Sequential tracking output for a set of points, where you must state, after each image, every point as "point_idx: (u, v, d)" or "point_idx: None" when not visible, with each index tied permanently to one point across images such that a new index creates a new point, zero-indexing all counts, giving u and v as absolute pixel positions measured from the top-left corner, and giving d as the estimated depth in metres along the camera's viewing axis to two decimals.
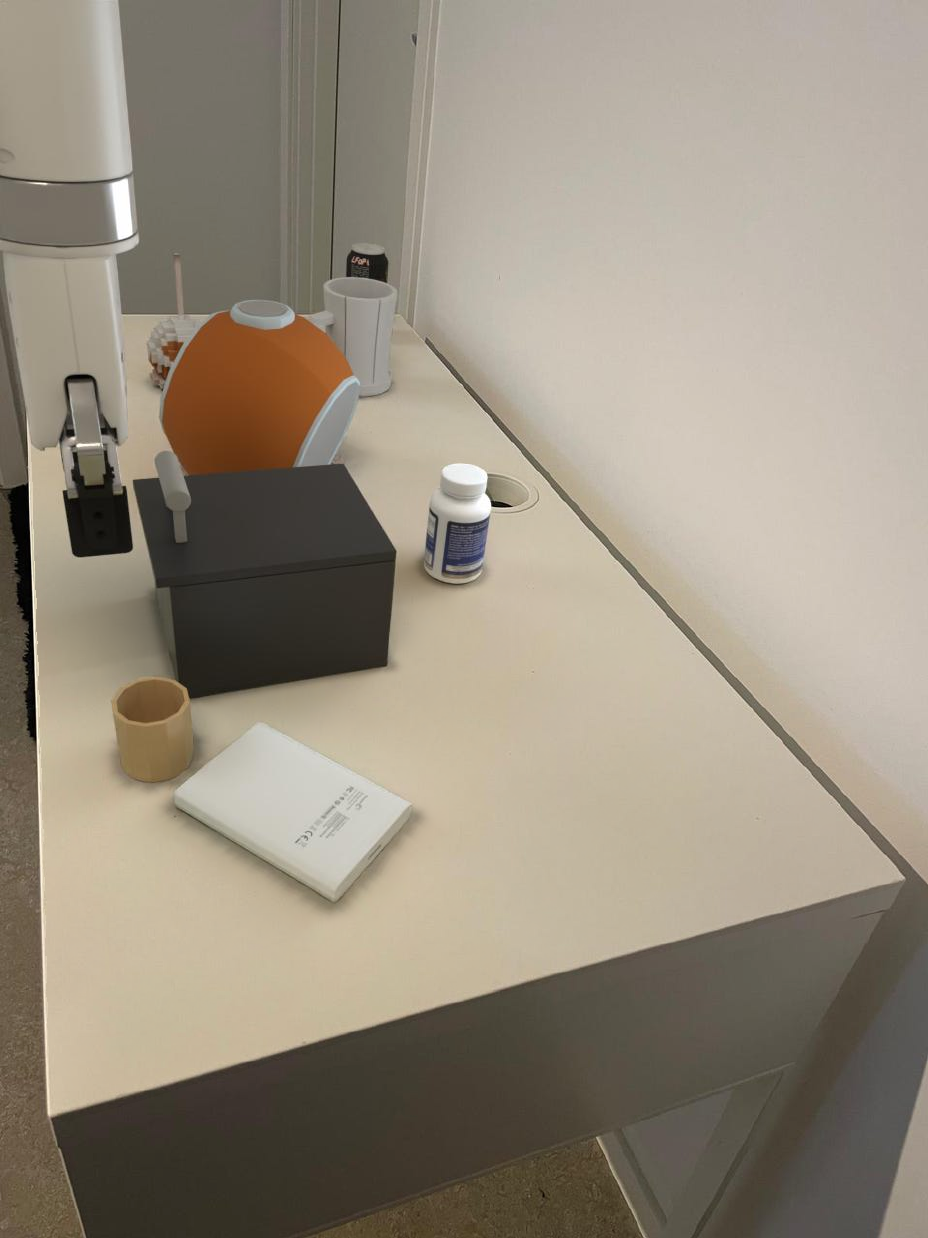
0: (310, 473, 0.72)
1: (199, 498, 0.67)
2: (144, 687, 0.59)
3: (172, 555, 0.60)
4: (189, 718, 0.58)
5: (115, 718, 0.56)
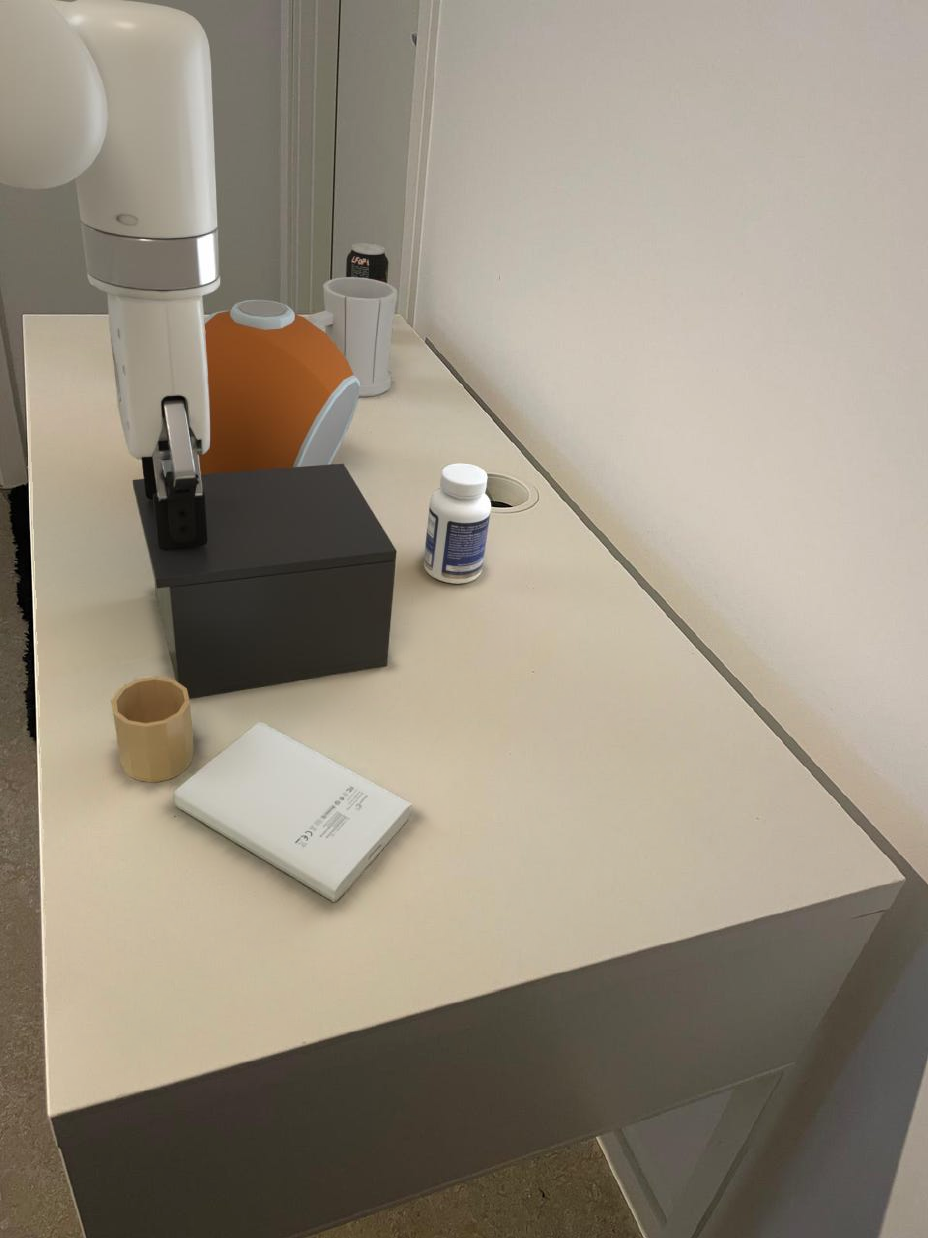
0: (310, 473, 0.72)
1: None
2: (144, 687, 0.59)
3: (172, 555, 0.60)
4: (189, 718, 0.58)
5: (115, 718, 0.56)
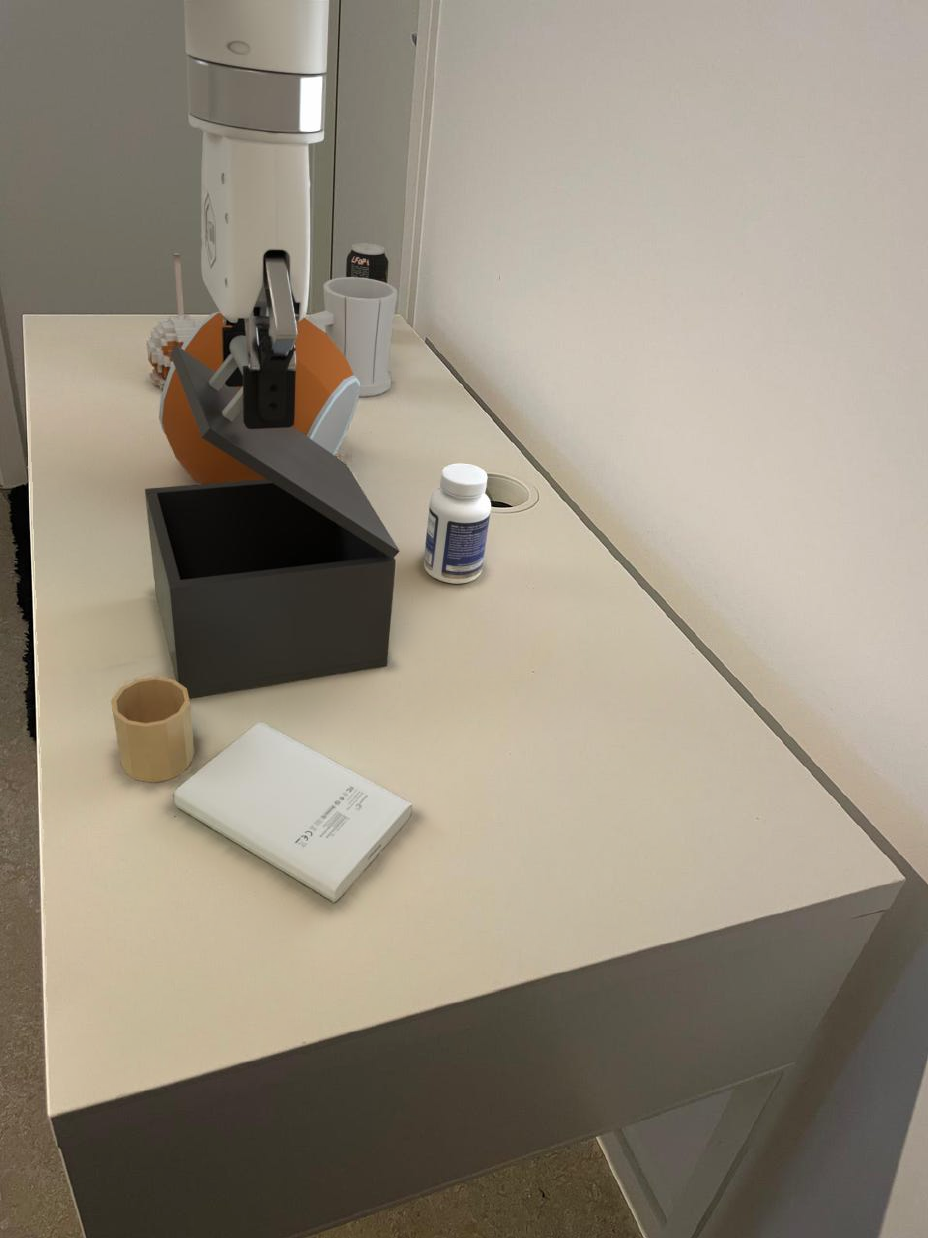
0: (322, 451, 0.71)
1: None
2: (144, 687, 0.59)
3: (221, 422, 0.56)
4: (189, 718, 0.58)
5: (115, 718, 0.56)
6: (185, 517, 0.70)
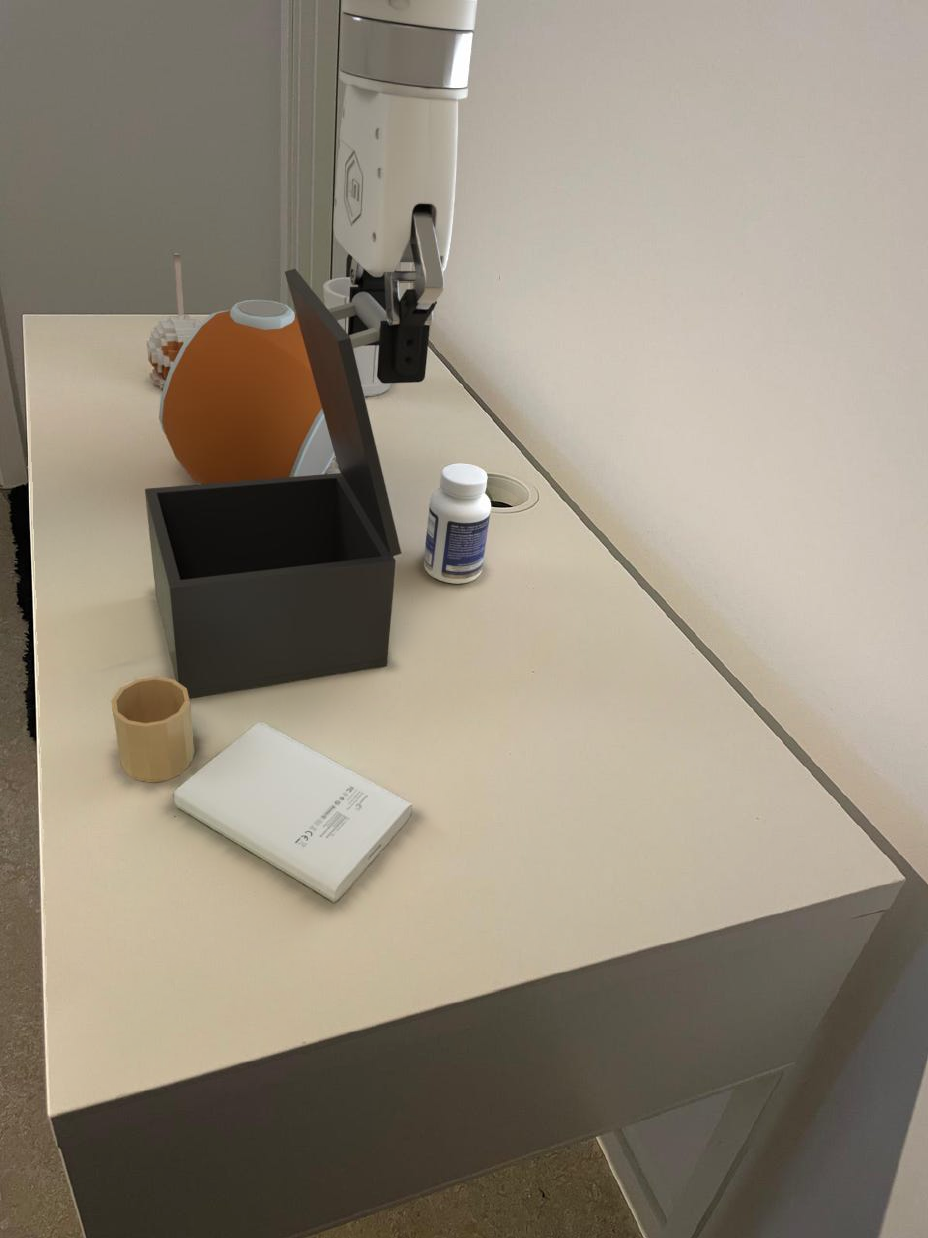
0: None
1: None
2: (144, 687, 0.59)
3: None
4: (189, 718, 0.58)
5: (115, 718, 0.56)
6: (185, 517, 0.70)
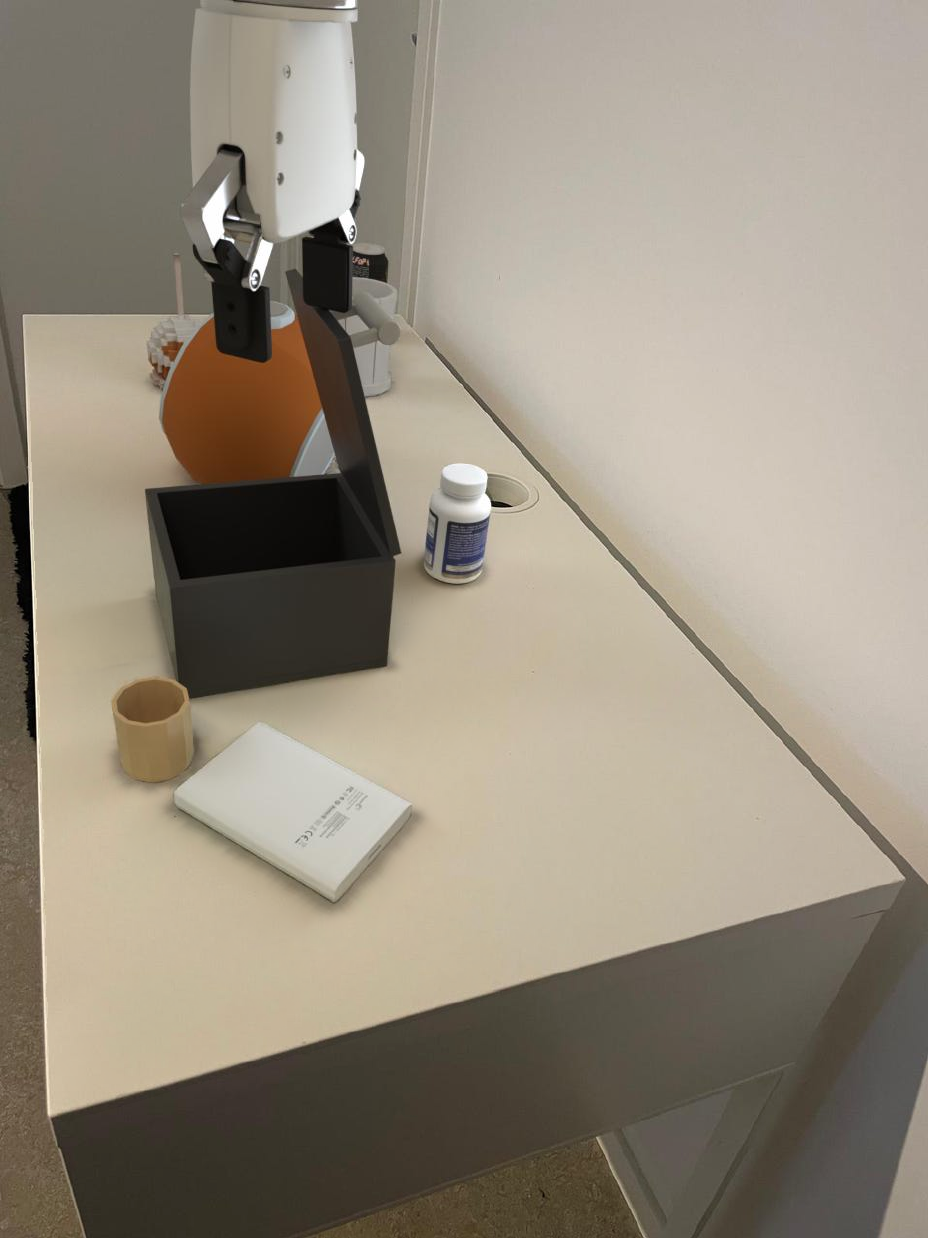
0: None
1: None
2: (144, 687, 0.59)
3: None
4: (189, 718, 0.58)
5: (115, 718, 0.56)
6: (185, 517, 0.70)
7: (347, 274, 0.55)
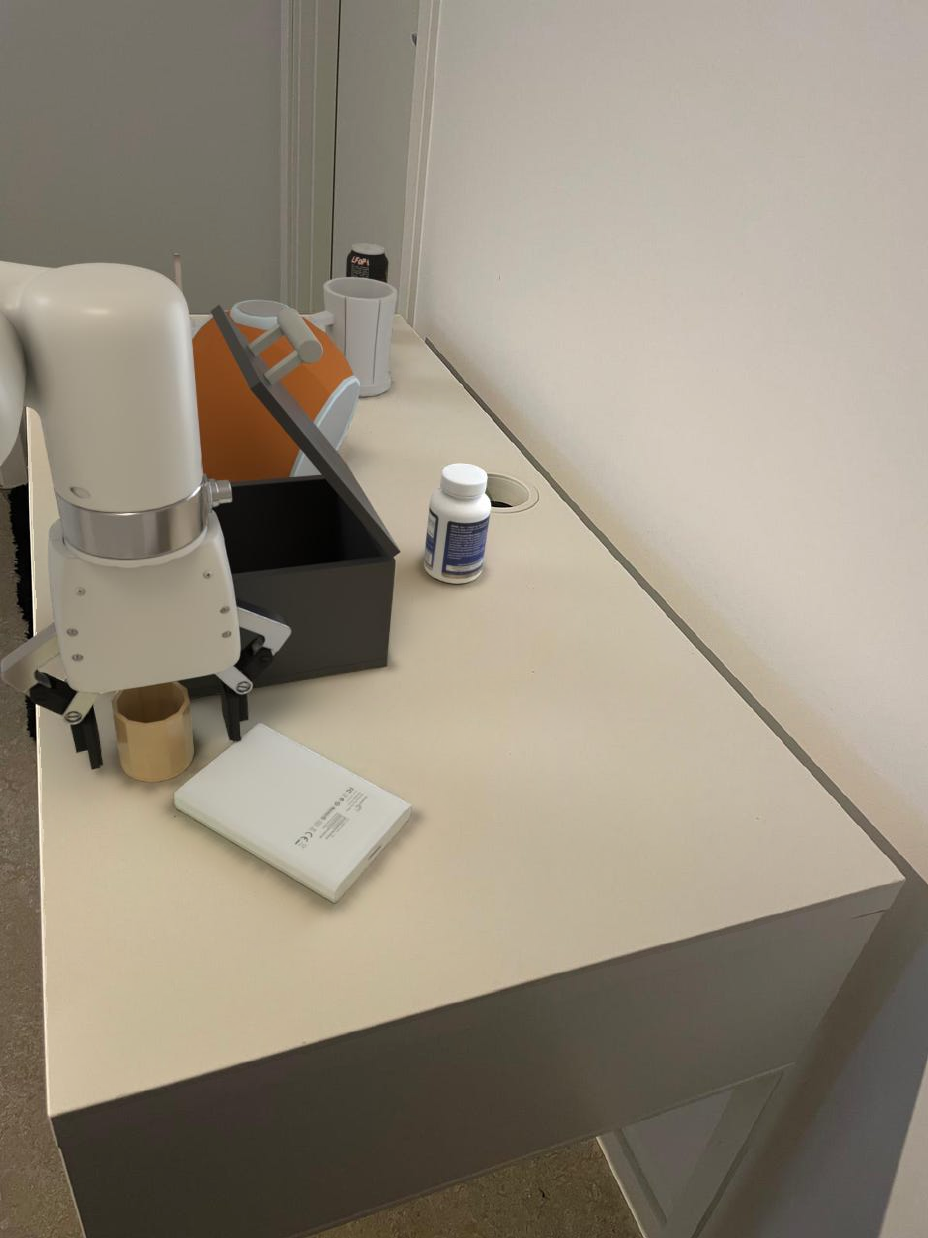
0: (330, 445, 0.71)
1: None
2: (144, 687, 0.59)
3: (265, 381, 0.56)
4: (189, 718, 0.58)
5: (115, 718, 0.56)
6: None
7: (231, 716, 0.58)
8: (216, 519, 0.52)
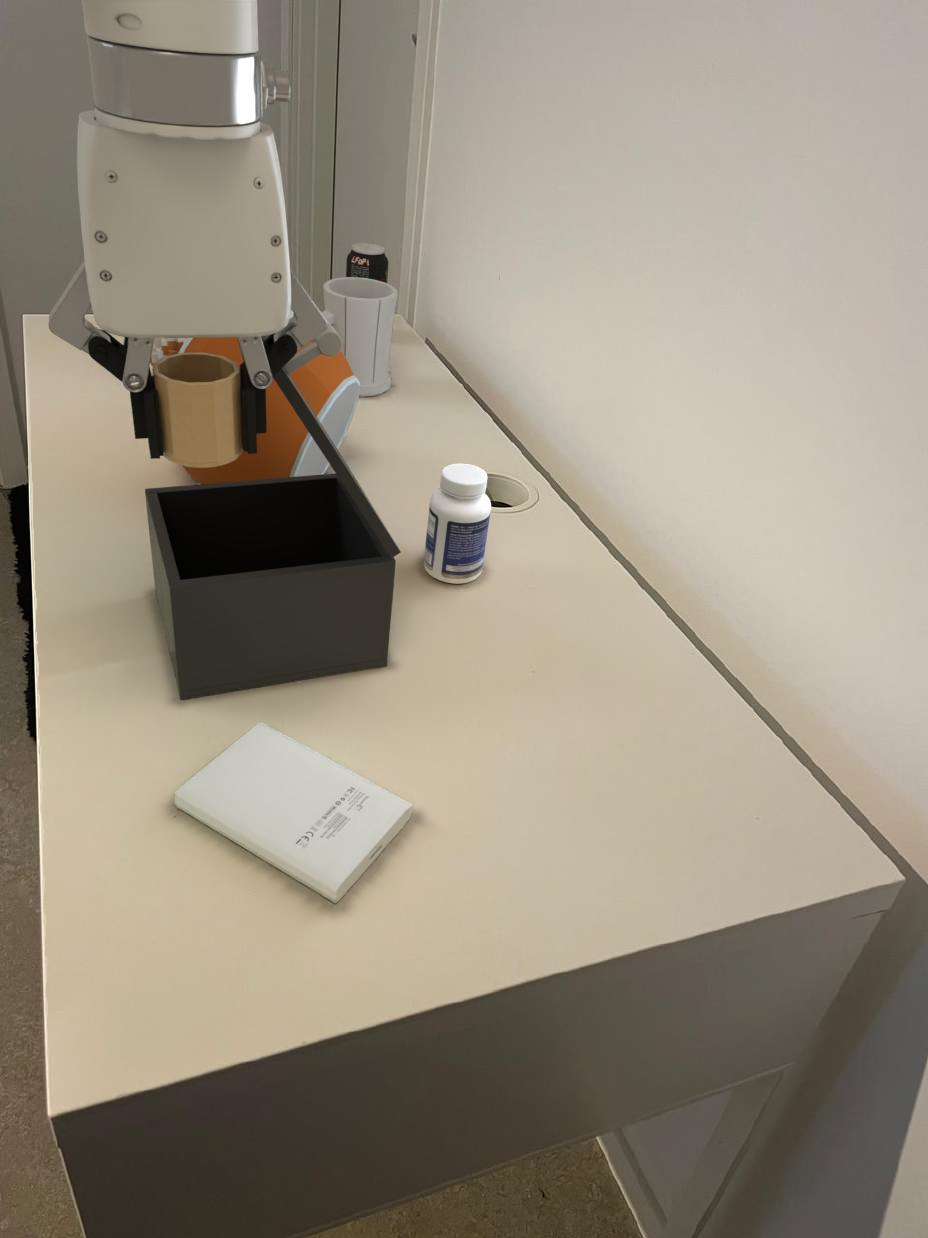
0: (333, 444, 0.71)
1: None
2: (189, 363, 0.52)
3: None
4: (239, 394, 0.51)
5: (156, 379, 0.49)
6: (185, 517, 0.70)
7: (247, 417, 0.51)
8: (270, 128, 0.45)
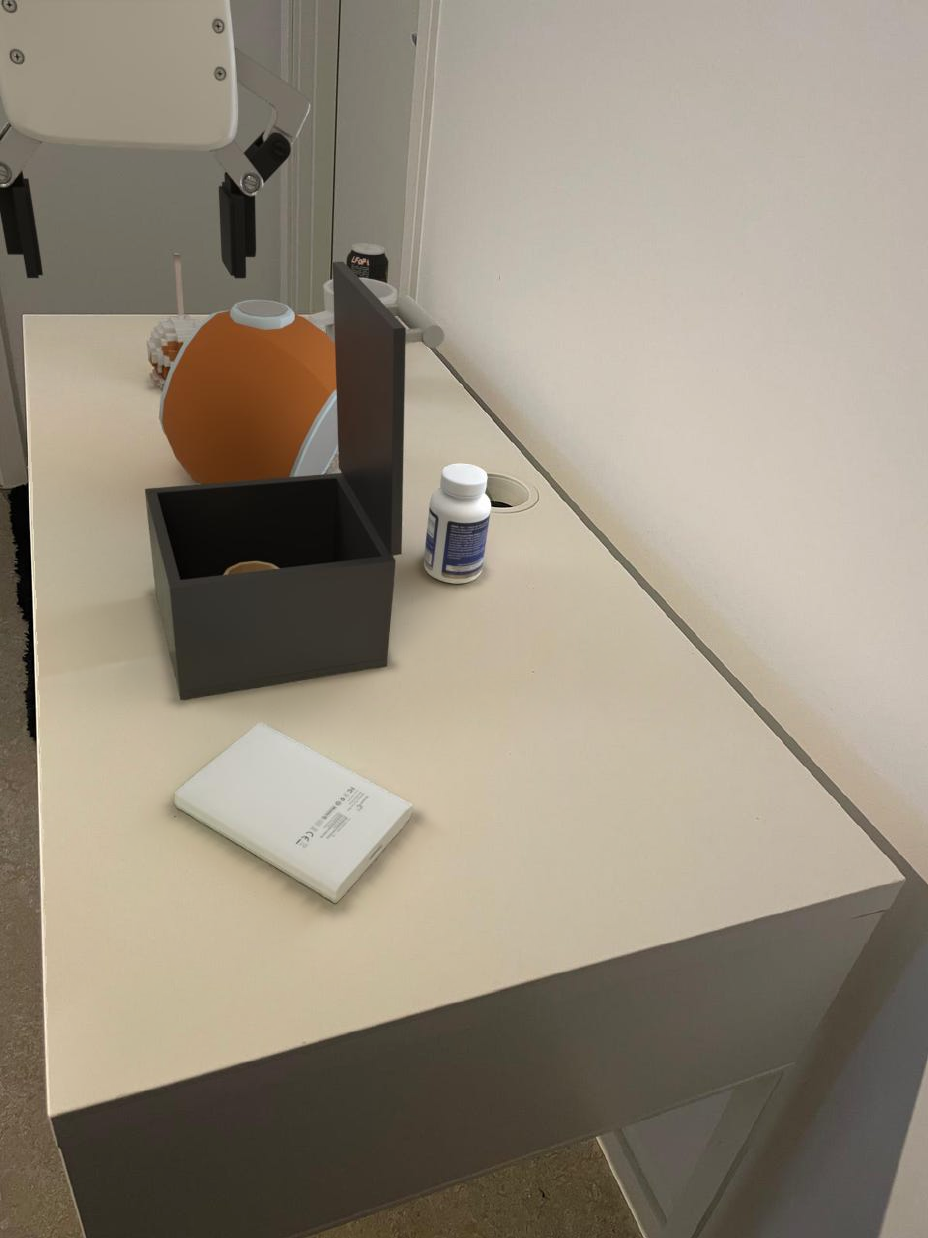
0: None
1: None
2: (246, 569, 0.69)
3: None
4: None
5: None
6: (185, 517, 0.70)
7: (234, 231, 0.45)
8: None
